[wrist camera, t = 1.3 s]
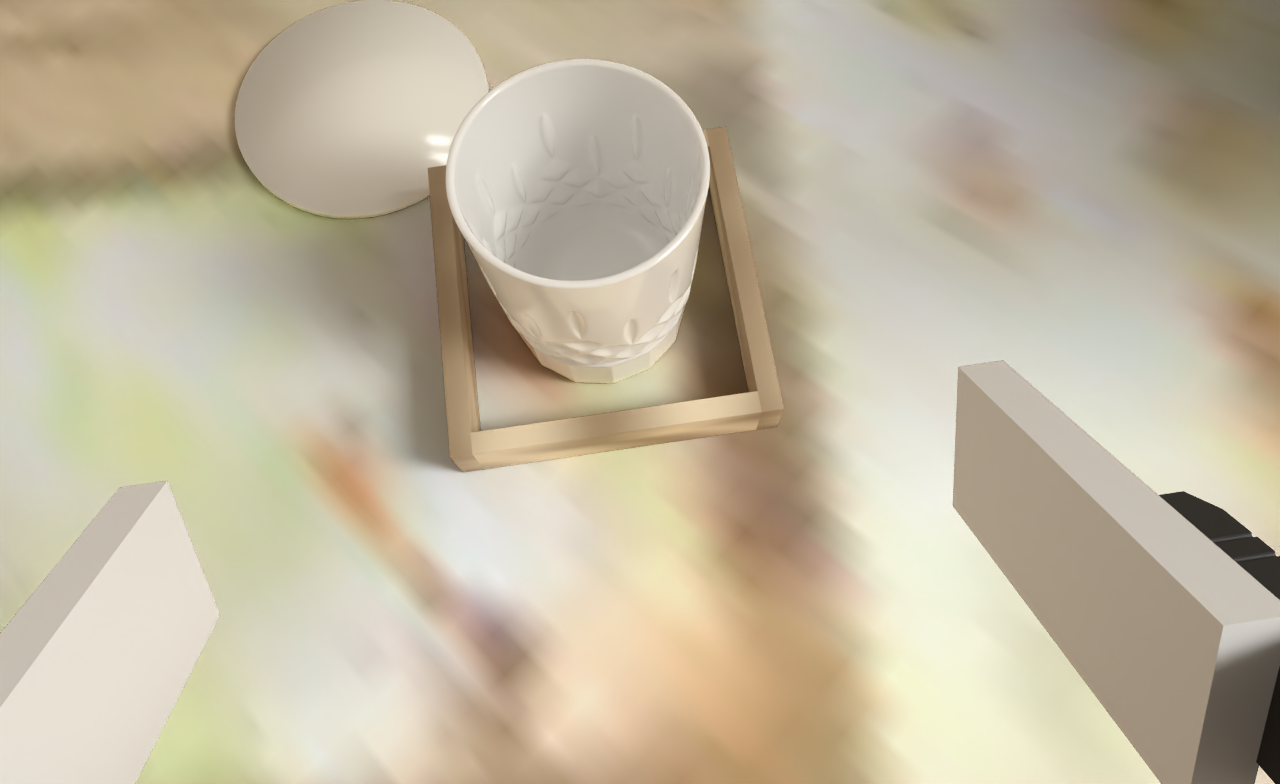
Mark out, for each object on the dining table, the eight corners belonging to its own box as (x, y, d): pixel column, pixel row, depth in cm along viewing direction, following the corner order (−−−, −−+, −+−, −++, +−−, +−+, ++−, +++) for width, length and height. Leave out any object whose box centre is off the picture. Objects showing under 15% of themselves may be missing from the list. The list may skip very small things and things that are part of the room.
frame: (722, 157, 39) (726, 126, 37) (776, 426, 35) (783, 408, 33) (440, 197, 38) (427, 167, 36) (463, 472, 34) (449, 457, 32)
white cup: (465, 287, 37) (395, 144, 28) (623, 186, 38) (609, 16, 29) (574, 438, 35) (540, 339, 25) (738, 325, 36) (764, 190, 27)
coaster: (478, -9, 42) (476, -16, 41) (500, 199, 38) (499, 193, 38) (238, 23, 42) (234, 17, 41) (238, 235, 38) (233, 231, 38)
